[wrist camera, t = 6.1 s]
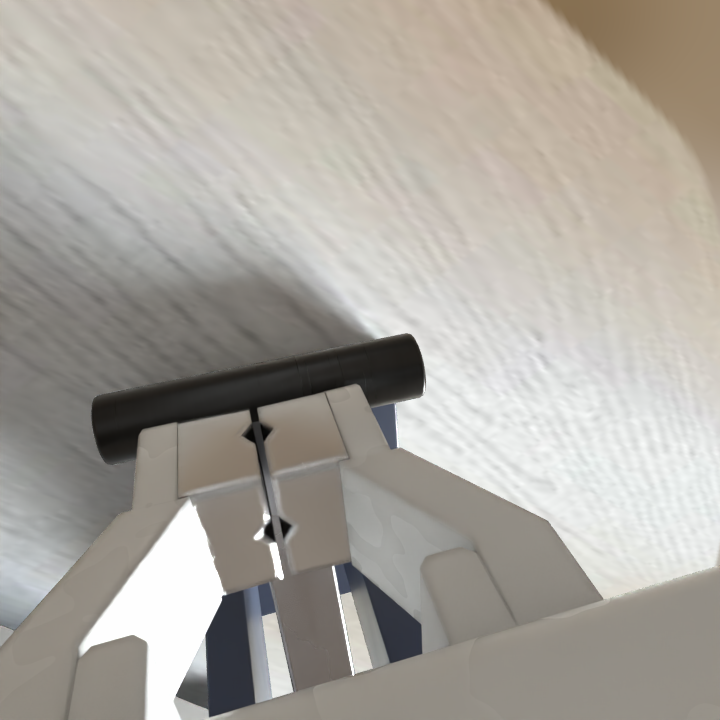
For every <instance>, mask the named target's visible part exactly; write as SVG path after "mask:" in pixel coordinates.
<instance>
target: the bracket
mask: <svg viewBox="0 0 720 720" xmlns="http://www.w3.org/2000/svg"><path fill="white" fill-rule="evenodd" d="M371 410H372V412H373V414H374V416H375V418H376V420H377V422H378V424H379V427H380V429H381V431H382V433H383V435H384V437H385V439H386V441H387V443H388V445H389V447H390V449H391V450H392V449H396V448H398V431H397V414H396V403H393V404H388V405H383V406H379V407H374V408H371ZM335 570H336V575H337V581H338V586H339V592H340V595H341V594H345V593H348V592H351V593H352V596H353V600H354V603H355V607H356V610H357V614H358V617H359V621H360V624H361V628H362V631H363V635H364V638H365V642H366V645H367V649H368V652H369V656H370V659H371V663H372V666H373V669H374V668H377V667H380V666H384V665H387V664H391V663H394V662H397V661H401V660H404V659H407V658H411V657H414V656H417V655H421V654H422V627H421V624H420V623H419V622H418V621H417V620H416V619H415V618H413V617H412V616H411V615H410V614H409V613H408V612H407V611H405V610H404V609H403V608H402V607H401V606H400V605H398V604H397V603H396V602H395V601H394V600H393V599H391V598H390V597H389V596H388V595H387V594H386V593H384V592H383V591H382V590H381V589H380V588H379V587H377V586H376V585H375V584H374V583H373V582H372V581H370V580H369V579H368V578H367V577H366V576H365V575H363V574H362V573H361V572H360V571H359V570H358V569H356V568H355V567H354V566H353V565H352V562H349V563H345V564H341V565H336V566H335ZM221 599H222V601H221V603H220V605H219V607H218V609H217V611H216V613H215V615H214V617H213V619H212V621H211V624H210V626H209V628H208V630H207V632H206V634H205V636H206V661H207V687H208V713H209V717H213V716H216V715H219V714H223V713H226V712H229V711H233V710H236V709H239V708H243V707H246V706H249V705H253V704H256V703H260V702H263V701H266V700H270V699H272V692H271V684H270V676H269V669H268V661H267V653H266V646H265V638H264V630H263V623H262V616H264V615H267V614H271V613H275V612H276V610H275V606H274V601H273V597H272V592H271V588H270V583H265V584H262V585H258V586H255V587H252V588H248V589H245V590H241V591H238V592H235V593H231V594H228V595H224V596H221Z"/></svg>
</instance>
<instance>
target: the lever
mask: <svg viewBox="0 0 720 720" xmlns="http://www.w3.org/2000/svg"><path fill="white" fill-rule="evenodd" d="M352 384H357V385H359V386H360V387H361V389H362V391H363V393H364V395H365V397H366V399H367V401H368V404H369V406H370V408H374V407H379V406H383V405H388V404H393V403H397V402H402V401H406V400H411V399H415V398H420V397H421V396H423V395H424V393H425V388H426V375H425V368H424V363H423V358H422V355H421V352H420V349H419V346H418V344H417V342H416V340H415V339H414V337H413V336H412V335H411V334H407V333H406V334H401V335H396V336H391V337H386V338H381V339H376V340H371V341H366V342H361V343H356V344H351V345H346V346H341V347H336V348H331V349H326V350H321V351H316V352H311V353H306V354H301V355H296V356H291V357H286V358H281V359H276V360H271V361H266V362H261V363H256V364H251V365H246V366H241V367H236V368H231V369H226V370H221V371H216V372H211V373H206V374H201V375H196V376H191V377H186V378H181V379H176V380H171V381H166V382H161V383H156V384H151V385H146V386H141V387H136V388H131V389H126V390H121V391H116V392H111V393H106V394H101V395H98V396H96V397H95V398H94V399H93V402H92V409H91V420H92V428H93V434H94V438H95V442H96V445H97V448H98V451H99V453H100V455H101V457H102V458H103V460H104V461H105V463H106V464H109V465H115V464H120V463H124V462H129V461H133V460H136V457H137V446H138V436H139V434H140V432H141V431H142V429H146V428H151V427H155V426H160V425H165V424H169V423H174V422H177V423H179V422H180V421H185V420H190V419H195V418H200V417H206V416H211V415H216V414H221V413H227V412H232V411H237V410H242V409H248V408H249V409H250V414H251V418H252V422H253V426H254V431H255V436H256V441H257V446H258V451H259V455H260V458H261V463H262V468H263V473H264V478H265V482H266V487H267V493H268V498H269V503H270V508H271V513H272V521H273V526H274V531H275V536H276V540H277V546H278V552H279V558H280V563H281V569H282V575H283V578H282V579H279V580H275V581H272V582H269V583H270V588H271V592H272V597H273V601H274V606H275V610H276V615H277V619H278V624H279V628H280V633H281V637H282V642H283V646H284V651H285V655H286V660H287V664H288V669H289V673H290V678H291V682H292V687H293V691H294V692H296V691H300V690H303V689H307V688H310V687H313V686H317V685H320V684H323V683H327V682H330V681H333V680H337V679H340V678H343V677H347V676H350V675H354V674H355V672H354V667H353V661H352V656H351V651H350V645H349V640H348V635H347V629H346V624H345V618H344V613H343V608H342V602H341V597H340V592H339V586H338V581H337V575H336V570H335V566H332V567H328V568H324V569H320V570H315V571H311V572H307V573H303V574H298V575H294V576H291V572H290V567H289V563H288V558H287V554H286V549H285V545H284V540H283V536H282V531H281V526H280V521H279V517H278V512H277V507H276V502H275V497H274V492H273V487H272V482H271V477H270V472H269V467H268V462H267V457H266V452H265V447H264V442H263V437H262V432H261V427H260V422H259V416H258V411H257V407H261V406H265V405H270V404H274V403H279V402H283V401H287V400H292V399H296V398H301V397H305V396H309V395H314V394H318V393H323V392H324V391H328V390H332V389H336V388H340V387H344V386H348V385H352Z"/></svg>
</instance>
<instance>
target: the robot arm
mask: <svg viewBox="0 0 720 720" xmlns="http://www.w3.org/2000/svg"><path fill="white" fill-rule="evenodd" d="M257 411H258V416H259V422H260V427H261V432H262V437H263V442H264V447H265V452H266V457H267V462H268V467H269V472H270V477H271V482H272V487H273V492H274V497H275V502H276V507H277V512H278V517H279V521H280V526H281V531H282V536H283V540H284V545H285V549H286V554H287V558H288V563H289V567H290V572H291V576H294V575H298V574H303V573H307V572H311V571H315V570H320V569H324V568H328V567H332V566H336V565H341V564H345V563H349V562H352V565H353V566H354V567H355V568H356V569H358V570H359V571H360V572H361V573H362V574H363V575H365V576H366V577H367V578H368V579H369V580H370V581H372V582H373V583H374V584H375V585H376V586H377V587H379V588H380V589H381V590H382V591H383V592H384V593H386V594H387V595H388V596H389V597H390V598H391V599H393V600H394V601H395V602H396V603H397V604H398V605H400V606H401V607H402V608H403V609H404V610H405V611H407V612H408V613H409V614H410V615H411V616H412V617H413V618H415V619H416V620H417V621H418V622H419V623H420V624H421V627H422V654H421V655H417V656H414V657H411V658H407V659H404V660H401V661H397V662H394V663H391V664H387V665H384V666H380V667H377V668H374V669H370V670H367V671H364V672H360V673H357V674H354V675H350V676H347V677H343V678H340V679H337V680H333V681H330V682H327V683H323V684H320V685H317V686H313V687H310V688H307V689H303V690H300V691H296V692H293V693H290V694H286V695H283V696H280V697H276V698H273V699H270V700H266V701H263V702H260V703H256V704H253V705H249V706H246V707H243V708H239V709H236V710H233V711H229V712H226V713H223V714H219V715H216V716H213V717H209V718H206V719H202V720H720V565H719V566H715V567H712V568H709V569H705V570H702V571H699V572H695V573H692V574H689V575H685V576H682V577H678V578H675V579H672V580H668V581H665V582H662V583H658V584H655V585H652V586H648V587H645V588H642V589H638V590H635V591H631V592H628V593H625V594H621V595H618V596H615V597H611V598H608V599H605V600H604V599H603V598H602V596H601V595H600V594H599V592H598V591H597V589H596V588H595V586H594V585H593V584H592V582H591V581H590V579H589V578H588V577H587V575H586V574H585V572H584V571H583V570H582V568H581V567H580V565H579V564H578V563H577V561H576V560H575V558H574V557H573V555H572V554H571V553H570V551H569V550H568V548H567V547H566V546H565V544H564V543H563V541H562V540H561V539H560V537H559V536H558V534H557V533H556V531H555V530H554V529H553V527H552V526H551V524H550V523H549V522H548V521H547V520H545V519H543V518H541V517H539V516H537V515H535V514H533V513H531V512H529V511H527V510H525V509H523V508H521V507H519V506H517V505H515V504H513V503H511V502H509V501H507V500H505V499H503V498H501V497H499V496H497V495H495V494H493V493H491V492H489V491H487V490H485V489H483V488H481V487H479V486H477V485H475V484H473V483H471V482H469V481H467V480H465V479H463V478H461V477H459V476H457V475H455V474H453V473H451V472H449V471H447V470H445V469H443V468H441V467H439V466H436V465H434V464H432V463H430V462H428V461H426V460H424V459H422V458H420V457H418V456H416V455H414V454H412V453H410V452H408V451H406V450H404V449H402V448H396V449H392V450H391V449H390V447H389V445H388V443H387V441H386V439H385V437H384V435H383V433H382V431H381V429H380V427H379V424H378V422H377V420H376V418H375V416H374V414H373V412H372V410H371V408H370V406H369V404H368V401H367V399H366V397H365V395H364V393H363V391H362V389H361V387H360V386H359V385H357V384H352V385H348V386H344V387H340V388H336V389H332V390H328V391H324V392H323V393H318V394H314V395H309V396H305V397H301V398H296V399H292V400H287V401H283V402H279V403H274V404H270V405H265V406H261V407H257ZM282 578H283V575H282V569H281V563H280V558H279V552H278V546H277V540H276V536H275V531H274V526H273V521H272V513H271V508H270V503H269V498H268V493H267V487H266V482H265V478H264V473H263V468H262V463H261V458H260V455H259V451H258V446H257V441H256V436H255V431H254V426H253V422H252V418H251V414H250V409H249V408H248V409H242V410H237V411H232V412H227V413H221V414H216V415H211V416H206V417H200V418H195V419H190V420H185V421H180V422H179V423H177V422H174V423H169V424H165V425H160V426H155V427H151V428H146V429H142V431H141V432H140V434H139V436H138V446H137V457H136V467H135V478H134V489H133V500H132V510H131V511H126V512H122V513H120V514H119V515H118V516H117V517H116V518H115V519H114V520H113V522H112V523H111V524H110V525H109V526H108V527H107V528H106V529H105V531H104V532H103V533H102V534H101V535H100V536H99V537H98V538H97V539H96V541H95V542H94V543H93V544H92V545H91V546H90V547H89V548H88V550H87V551H86V552H85V553H84V554H83V555H82V556H81V557H80V559H79V560H78V561H77V562H76V563H75V564H74V565H73V566H72V567H71V569H70V570H69V571H68V572H67V573H66V574H65V575H64V576H63V578H62V579H61V580H60V581H59V582H58V583H57V584H56V585H55V586H54V588H53V589H52V590H51V591H50V592H49V593H48V594H47V595H46V597H45V598H44V599H43V600H42V601H41V602H40V603H39V604H38V606H37V607H36V608H35V609H34V610H33V611H32V612H31V613H30V614H29V616H28V617H27V618H26V619H25V620H24V621H23V622H22V623H21V625H20V626H19V627H18V628H17V629H16V630H15V631H14V632H13V633H12V635H11V636H10V637H9V638H8V639H7V640H6V641H5V642H4V644H3V645H2V646H1V647H0V720H181V718H180V715H179V713H178V711H177V709H176V706H175V704H174V702H173V700H174V698H175V696H176V694H177V691H178V689H179V687H180V685H181V683H182V681H183V679H184V677H185V675H186V673H187V671H188V669H189V667H190V665H191V663H192V661H193V659H194V656H195V654H196V652H197V650H198V648H199V646H200V644H201V642H202V640H203V638H204V636H205V634H206V632H207V630H208V628H209V626H210V624H211V621H212V619H213V617H214V615H215V613H216V611H217V609H218V607H219V605H220V603H221V601H222V599H221V596H224V595H228V594H231V593H235V592H238V591H241V590H245V589H248V588H252V587H255V586H258V585H262V584H265V583H269V582H272V581H275V580H279V579H282Z"/></svg>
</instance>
